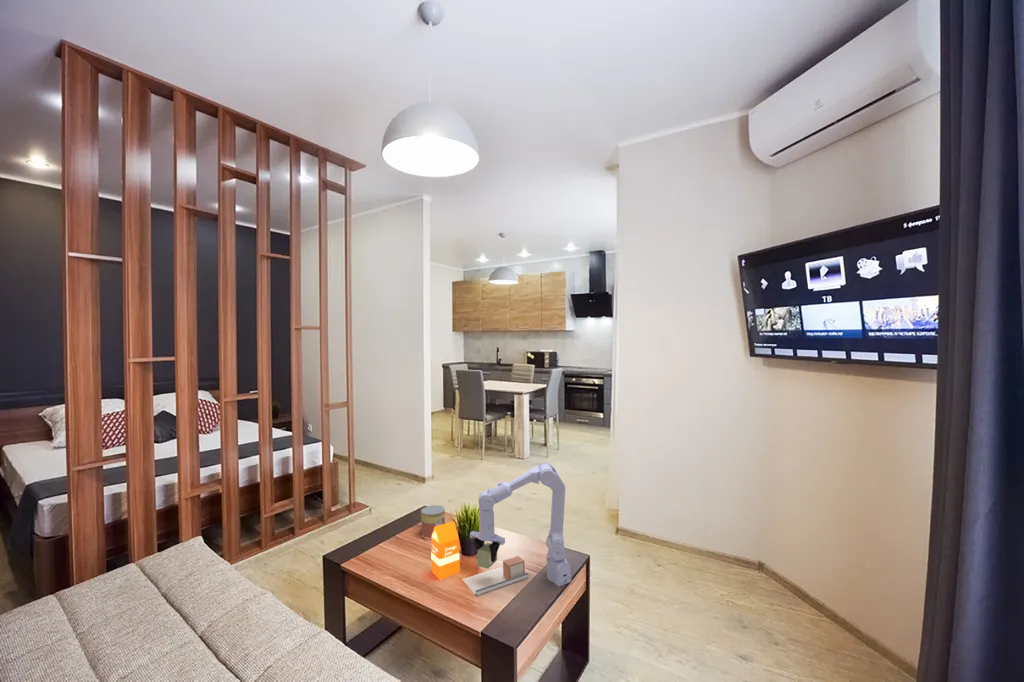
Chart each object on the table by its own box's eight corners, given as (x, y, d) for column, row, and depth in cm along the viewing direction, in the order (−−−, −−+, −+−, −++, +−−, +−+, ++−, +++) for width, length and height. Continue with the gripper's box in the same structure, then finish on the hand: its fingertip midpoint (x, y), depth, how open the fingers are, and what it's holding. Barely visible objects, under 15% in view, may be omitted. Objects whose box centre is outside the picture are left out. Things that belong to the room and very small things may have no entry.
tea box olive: (497, 560, 165) (497, 544, 165) (488, 568, 159) (488, 552, 159) (487, 557, 167) (486, 542, 168) (477, 566, 161) (477, 550, 161)
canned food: (433, 541, 199) (433, 516, 199) (416, 536, 205) (416, 511, 205) (450, 532, 208) (449, 507, 208) (433, 527, 214) (432, 503, 214)
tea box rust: (524, 576, 166) (524, 560, 166) (509, 581, 162) (508, 566, 162) (518, 571, 170) (518, 555, 170) (503, 576, 166) (503, 560, 166)
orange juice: (431, 573, 171) (430, 523, 171) (451, 566, 176) (449, 518, 176) (439, 582, 165) (438, 530, 165) (460, 574, 170) (458, 524, 170)
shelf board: (528, 580, 164) (528, 574, 164) (476, 598, 153) (476, 591, 153) (511, 565, 176) (511, 559, 176) (462, 581, 165) (462, 575, 165)
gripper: (508, 523, 164) (509, 558, 164) (476, 516, 170) (477, 551, 170) (499, 530, 157) (500, 567, 157) (466, 523, 164) (467, 559, 164)
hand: (487, 559), depth 163 cm, fingers closed on tea box olive, 5 cm apart
